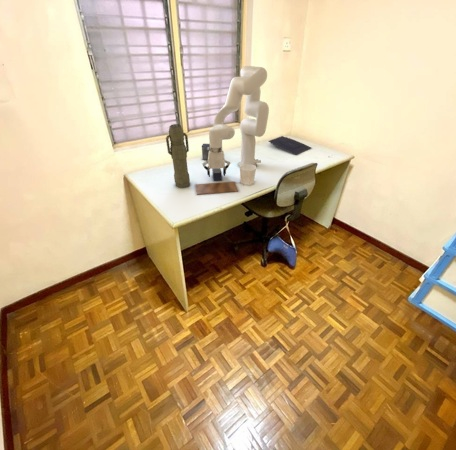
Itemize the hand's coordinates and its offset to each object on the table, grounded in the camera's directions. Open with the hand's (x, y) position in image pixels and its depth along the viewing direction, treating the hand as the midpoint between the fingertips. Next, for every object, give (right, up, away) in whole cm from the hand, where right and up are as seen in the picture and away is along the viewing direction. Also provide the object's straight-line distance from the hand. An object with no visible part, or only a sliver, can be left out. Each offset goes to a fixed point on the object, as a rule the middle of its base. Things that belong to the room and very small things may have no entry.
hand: (216, 175), depth 160 cm
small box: (-7, +18, +28) cm, 34 cm away
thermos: (-20, -7, -7) cm, 23 cm away
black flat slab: (+57, +34, +51) cm, 83 cm away
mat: (+1, -10, -10) cm, 14 cm away
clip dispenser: (0, -1, +1) cm, 2 cm away
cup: (+20, -5, -3) cm, 20 cm away
